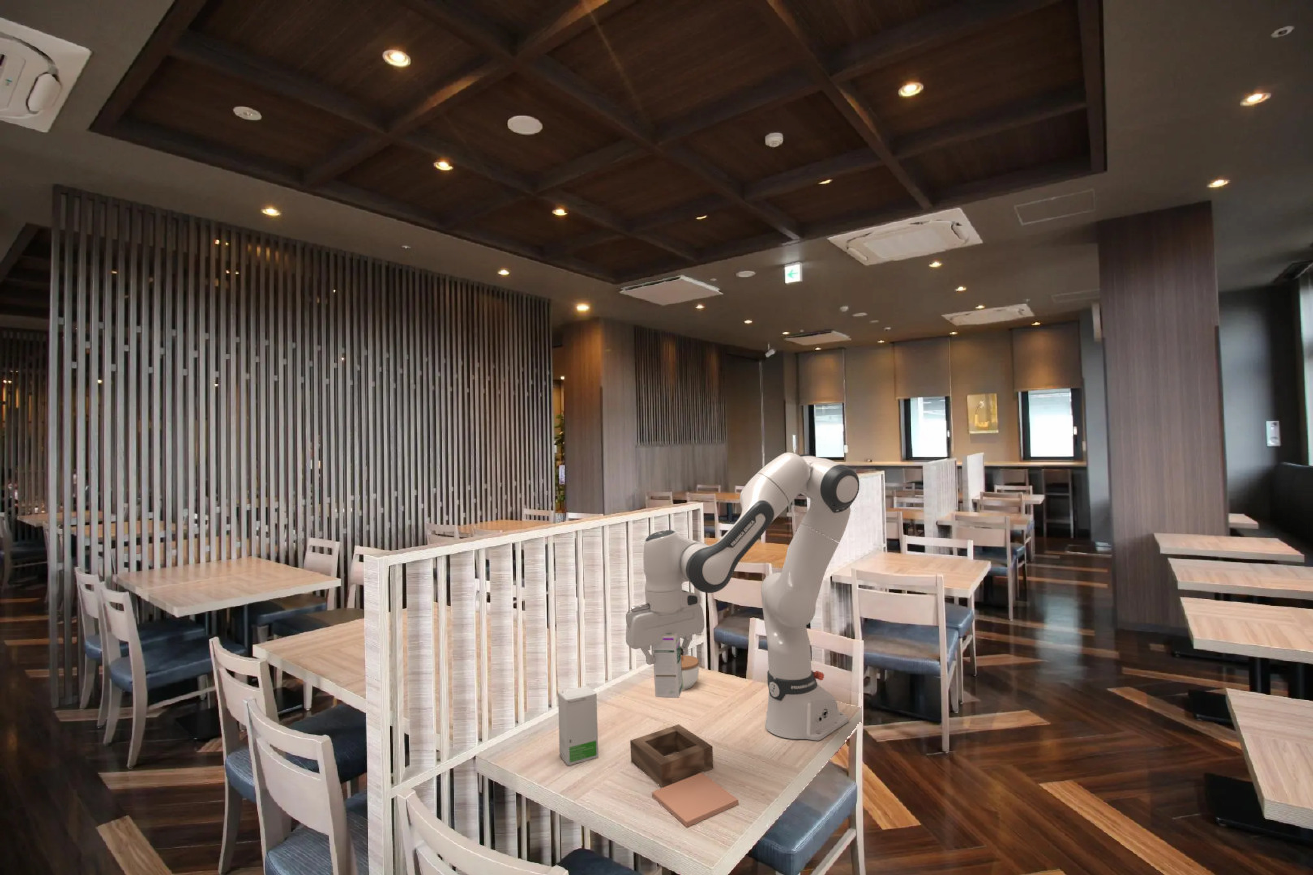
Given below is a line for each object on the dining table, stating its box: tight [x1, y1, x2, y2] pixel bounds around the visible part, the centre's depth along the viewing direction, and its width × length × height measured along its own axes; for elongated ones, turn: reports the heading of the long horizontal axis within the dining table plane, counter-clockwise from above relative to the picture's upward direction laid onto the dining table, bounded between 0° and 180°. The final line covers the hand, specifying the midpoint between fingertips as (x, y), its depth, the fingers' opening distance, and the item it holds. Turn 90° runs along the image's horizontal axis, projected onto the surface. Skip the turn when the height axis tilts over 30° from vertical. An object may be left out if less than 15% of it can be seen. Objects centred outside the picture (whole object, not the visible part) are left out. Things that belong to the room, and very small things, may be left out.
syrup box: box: [652, 632, 684, 699], centre depth 142 cm, size 6×6×14 cm
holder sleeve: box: [629, 724, 714, 788], centre depth 142 cm, size 14×14×5 cm
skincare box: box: [557, 685, 599, 766], centre depth 148 cm, size 8×7×16 cm
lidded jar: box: [681, 654, 700, 690], centre depth 189 cm, size 11×11×9 cm
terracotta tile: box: [651, 772, 739, 828], centre depth 127 cm, size 13×13×1 cm
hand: (667, 659), depth 142 cm, fingers closed on syrup box, 8 cm apart
